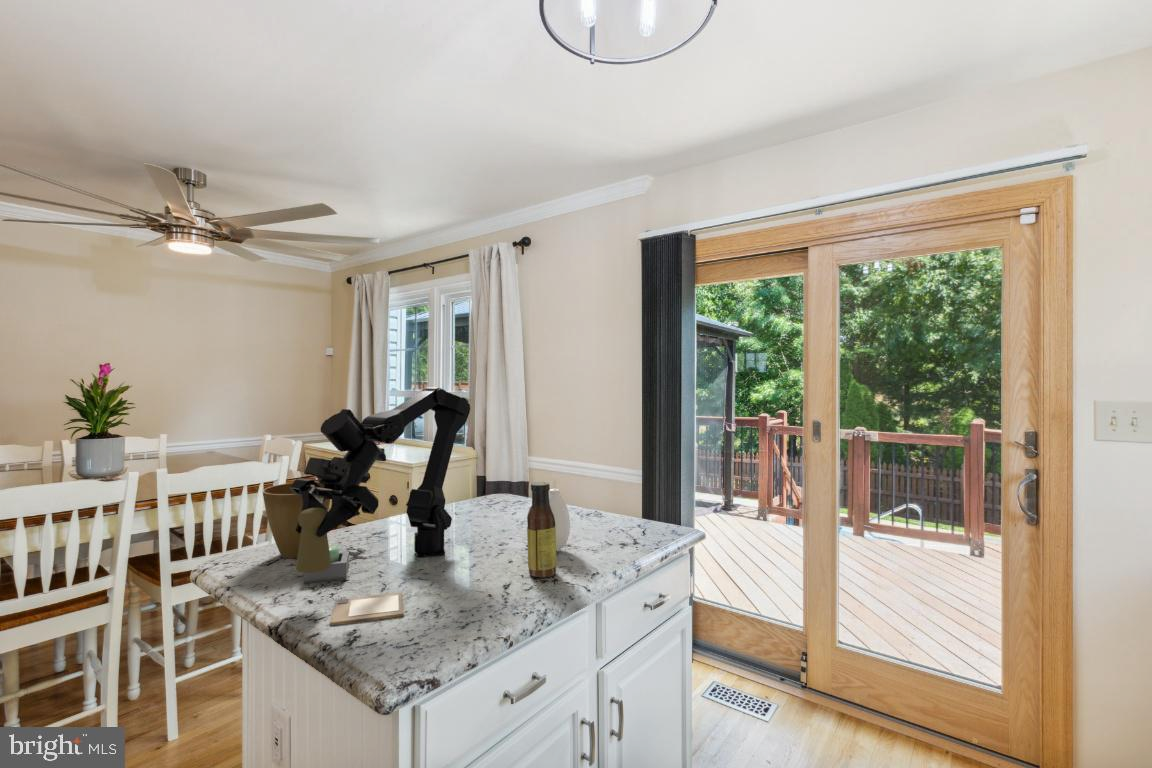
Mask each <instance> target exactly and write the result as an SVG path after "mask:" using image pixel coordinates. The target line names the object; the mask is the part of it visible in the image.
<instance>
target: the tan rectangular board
mask: <svg viewBox="0 0 1152 768" xmlns="http://www.w3.org/2000/svg"><path fill="white" fill-rule="evenodd" d="M332 609H333V610H332V613H331V617H330V621H329V626H338V625H343V624H345V625H346V624H352V623H353V624H354V623H362V622H368V621H376V620H385V619H391V618H392V619H393V618H401V617H404V615H405V614H404V612H405V611H404V593H403V592H402V591H401V592H395V593H385V594H376V595H375V594H374V595H366V596H365V595H364V596H358V597H348V598H342V599H341V598H340V599H335V600H334V605H333V608H332Z"/></svg>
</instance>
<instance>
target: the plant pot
mask: <svg viewBox="0 0 1152 768" xmlns="http://www.w3.org/2000/svg"><path fill="white" fill-rule="evenodd" d="M315 482H316V483H317V484H318V485H319V486H320V487H321V488H323V487H324V485H323V484H321V483H320V482H319V481H315ZM292 484H293V482H289V483H282V484H277V485H276V484H275V485H271V486H269V487H266V488H264V489H263V490H262V492H261V493H262V497H263V501H264V502H263V503H264V508H265V512H266V517H267V522H268V524H269V525H268V526H269V528H270V531H271V535H272V537H273V540H274V543H275V544H276V547H277V550H278V552H279V554H280V556H281V557H282V558H285V559H297V557H298V550H299V543H300V536H301V533H298V532H296V527H297V524H298V518H299V515H300V513H301V511H302V507H303V500H302V499H301V498H300V497H299V496H298V495H297V494H296V493H294V492H293V491H292V490H291V489H290V486H291V485H292ZM322 505H324V506H325V507H326V508H327V511H328V512H329V510H330V506H331V499H325V501H324V502H323V503H322Z"/></svg>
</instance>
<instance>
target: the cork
mask: <svg viewBox="0 0 1152 768" xmlns="http://www.w3.org/2000/svg"><path fill="white" fill-rule="evenodd" d="M328 512H329V510H328V511H327V510H326V509H324V508H310V509H306V510H303V511H302V512H301V513H300V515H299V518H298V522H299V525H300V526H301V527H302V529H301V536H300V543H299V550H298V557H297V558H296V564H295V571H296V572H297V573H300V574H301V573H302V574H304V573H314V572H319V571H323V570H326V569H328V568H329V567H331V558H330V551H329V546H330V545H329V538H328V533H326V534H325V535H323V536H322V537H318V536H317V535H316V532H317V530H318V528H319V526H320V525H321V523H322V521H323V520H324V518H325V516H326V515H327V513H328Z"/></svg>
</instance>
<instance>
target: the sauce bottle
mask: <svg viewBox="0 0 1152 768" xmlns="http://www.w3.org/2000/svg"><path fill="white" fill-rule="evenodd" d="M550 489H551V488H550V483H549V482H546V481H536V482H532V483H530V490H531V506H530V508H529V510H528V512H527V518H526V519H527V520H526V521H527V522H526V523H527V527H526V533H527V534H526V535H527V536H526V537H527V538H526V539H527V540H526V541H527V567H528V573H529V575H530V576H531V577H534V578H537V577H538V579H544V578H545V579H546V578H551V577H553V576H554V575H555V574H557V552H556V527H555V519H554V514H553V512H552V510H551V507H550V504H549V490H550Z"/></svg>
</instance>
